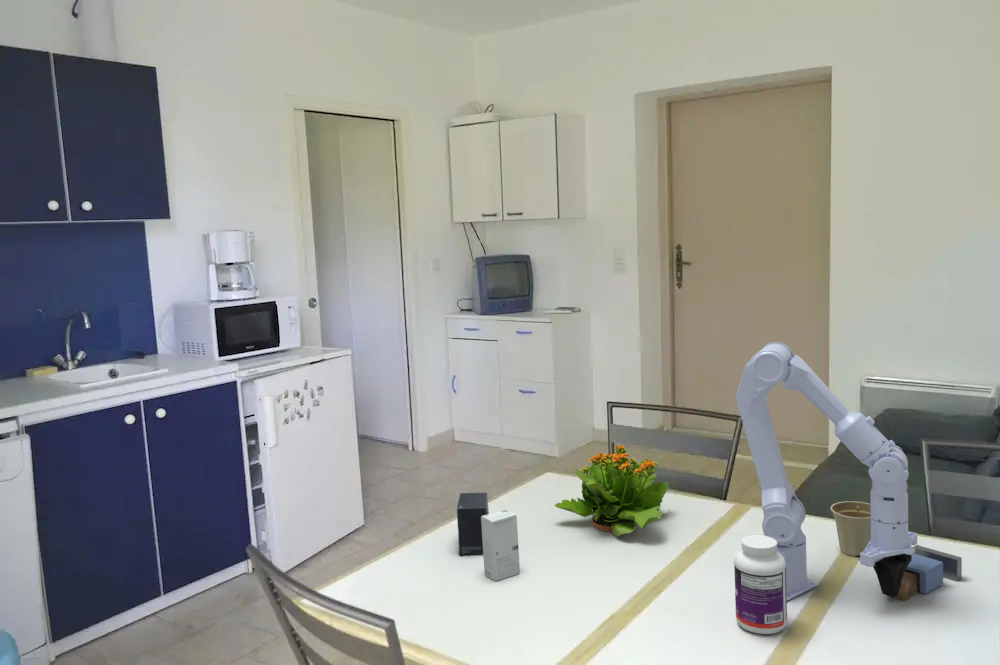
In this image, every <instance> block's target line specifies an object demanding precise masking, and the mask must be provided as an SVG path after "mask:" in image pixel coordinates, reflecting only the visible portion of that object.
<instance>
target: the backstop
mask: <svg viewBox="0 0 1000 665" xmlns="http://www.w3.org/2000/svg"><path fill="white" fill-rule="evenodd" d="M912 547H913V548H915V552H914V553H913V554H917V555H920V556H924V557H927V558H931V559H934V560H938V561H941V562H943V579H948V580H951V581H955V582H959V581H961V580H962V577H963V576H962V571H963V570H962V569H963V567H962V566H963V563H962V562H963V561H962V559H963V558H962V557H960V556H958V555H954V554H950V553H947V552H944V551H943V552H942V551H940V550H936V549H932V548H929V547H926V546H922V545H919V544H916V545H913V546H912Z"/></svg>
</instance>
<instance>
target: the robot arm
mask: <svg viewBox="0 0 1000 665" xmlns="http://www.w3.org/2000/svg"><path fill="white" fill-rule="evenodd" d="M743 370H744V371H743V373H742V376H741V380H740V382H739V385H738V386H737V387H738V388H737V391H736V394H735V399H736V404H737V407H738V411H739V415H740V419H741V422H742V425H743V428H744V432H745V437H746V440H747V442H748V447H749V451H750V454H751V457H752V460H753V464H754V468H755V473H756V476H757V478H758V482H759V486H760V490H761V509H762V511H763V512H762V513H763V520H762V523H761V528H762V532H763V536H768V537H771V538H773V539H775V540H776V541H777V553H779V554H780V555H781V556H782V557H783V558H784V560H785V562H786V595H787V601H790V600H792V599H794V598H796V597H798V596H799V595H802V594H804V593H805V592H808V591H809V590H812V589H813V588H815V587H817V586H818V582H816V581H813V580H810V579H808V578H807V577H808V576H807V574H808V573H807V571H808V570H807V566H808V565H807V537H806V535H805V533H804V532H803V530H802V528H801V527H802V525H803V523H804V521H805V519H806V509H805V506H804V504H803V503H802V502H801V501H800V499H798V497H797V495H796V493H795V489H794V487H793V486H792V484H791V483H790V482H789V478H788V473H787V470H786V466H785V464H784V460H783V456H782V452H781V449H780V445H779V442H778V438H777V434H776V431H775V428H774V424H773V420H772V417H771V413H770V410H769V406H768V403H767V402H768V401H767V398H768V396H769V395H770V393H771V391H772V390H773V389H774V388H776V387H777V386H778V385H779V384H780V383H782V382H785V383H784V384H783V386H782V389H786V390H791V391H797V392H801V393H802V394H803V395H804V396H805V397H806V398H807V399H808V400H809V401H810V402H811V403H812V404H814V406H815V407H816V408H817V409H818V410H819V411H821V412H822V414H824V415H825V416H826V417H827V419H829V420H830V421H831V422H832V423H833V425H834V436H836V438H838V440H839V441H840V442H841V443H842V444H843V445H844V446H845V447H846V448H847V449H848V450H849V451H850V452H851V453H852V455H854V456H855V457H856V458H857V459H858V460H859V462H860V463H862V464H863V465H865V466H867V467H868V471H867V472H868V475H869V478H870V479H871V489H870V491H869V492H870V504H871V540H870V541H869V543H868V545H867V547H866V548H865V550H864V551H863V552H862V553H860V555H859V558H860V559H859V564H860V565H862V566H865V567H868V568H873V570H874V572H875V574H876V577H877V580H878V583H879V587H880V590H881V593H882V595H885V596H887V597H890V598H893V597H895V596H897V595H898V592H899V589H900V585H901V581H902V578H903V575H904V572H905V570H906V568H907V566H908V565H909V563H910V562H911V560H912V556H911V555H910V554H913V553H914V552H915V548H913V547H914V546H916V545H918V533H916V532H913V531H909V494H908V491H907V490H908V482H907V480H908V479H909V475H910V472H909V461H908V457H907V456H906V454H905V452H904V451H903V449H902V447H900V446H898V445H896V443H895V441H893V440H892V439H890V440H888V438H886V437H885V435H883V433H881V431H880V430H878V428H877V427H876V426H875V425H874V424H875V420H874V419H873V418H872V417H871V416H870V415H868V416H867V417H866V416H865V415H864V414H863V413H862V412H854V411H850V410H849V409H848V408H847V407H846V406H845V405H844V403H842V401H840V399H839V398H838V397H837V396H836V395H835V393H833V391H832V390H831V389H830V388H829V387H828V386H827V385H826V384H825V383H824V382H823V380H822V379H821V378H820V377H819V376H818V375H817V373H815V371H814V370H813V369H812V368H811V367H810V366H809V365H808V364H807V362H805V360H804V359H803V358H802V357H800V356H799V355H797V354H794V352H793V351H792V349H791V348H790V347H789V346H788V345H786V344H785V343H782V342H776V341H775V342H774V341H773V342H770V343H767V344H766V345H764V346H763V347H762V348H761V349H759V351H758V352H756V353H755V354H754V355H753V356H752V357H751V359H750V360H749V361H748V362H747V363H746V365H745V366H744V369H743Z"/></svg>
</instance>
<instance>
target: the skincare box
mask: <svg viewBox="0 0 1000 665" xmlns="http://www.w3.org/2000/svg"><path fill="white" fill-rule="evenodd" d="M481 524H482V541H483V554H482V555H483V567H484V568H483V569H484V570H483V571H484V572H483V573H484V576H486V577H488V578H489V577H490V578H489V579H491V580H492V579H493V580H492V581H494V582H496V581H501V580H503V579H507V578H510V577H513V576H516V575H519V574H520V573H521V570H520V569H521V568H520V567H521V566H520V552H519V551H520V550H519V549H520V548H519V535H518V520H517V514H516V513H514V512H511V511H509V510H507V509H504V510H499V511H495V512H491V513H489V514H488V515H484V516H481Z"/></svg>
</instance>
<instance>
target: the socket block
mask: <svg viewBox="0 0 1000 665" xmlns="http://www.w3.org/2000/svg"><path fill="white" fill-rule="evenodd" d="M910 555H911V556H912V560H911V562H910V563H909V565H908V566H907V568H906V569H907V570H910V571H914V572H917V573H920V589H919V592H920V593H921V594H926V595H927V594H928V593H930V592H932V591H933V590H935V589H936V588H938V587H940V586H942V585H943V584H944V577H943V562H941V561H938V560H934V559H931V558H927V557H924V556H920V555H917V554H910Z"/></svg>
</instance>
